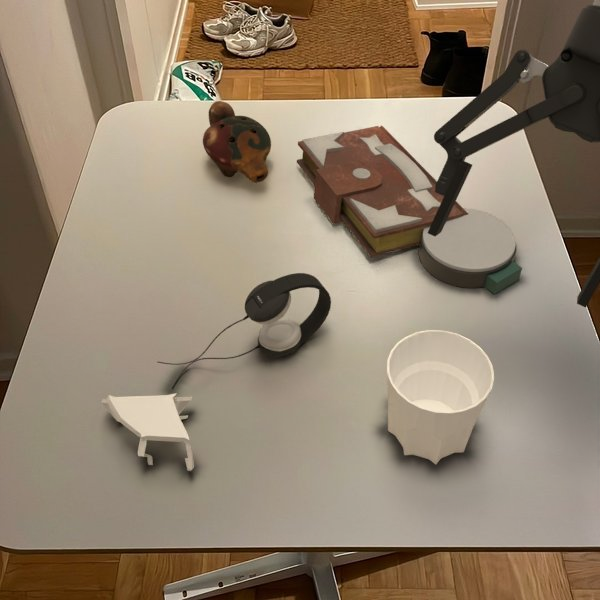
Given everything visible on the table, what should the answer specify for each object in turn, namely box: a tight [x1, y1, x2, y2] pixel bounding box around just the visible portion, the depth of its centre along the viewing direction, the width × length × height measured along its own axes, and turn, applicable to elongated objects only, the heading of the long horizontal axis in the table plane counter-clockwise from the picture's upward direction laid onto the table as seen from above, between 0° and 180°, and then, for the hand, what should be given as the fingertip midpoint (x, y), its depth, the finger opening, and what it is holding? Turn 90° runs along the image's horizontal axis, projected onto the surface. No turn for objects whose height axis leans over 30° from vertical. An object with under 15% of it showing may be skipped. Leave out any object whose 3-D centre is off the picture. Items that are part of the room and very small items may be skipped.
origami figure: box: [101, 392, 195, 472], centre depth 75 cm, size 12×8×5 cm
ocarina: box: [202, 100, 272, 184], centre depth 107 cm, size 10×15×8 cm, turn 34°
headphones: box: [157, 272, 332, 389], centre depth 81 cm, size 10×4×20 cm
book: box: [296, 125, 468, 258], centre depth 102 cm, size 23×16×5 cm
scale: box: [418, 208, 523, 295], centre depth 94 cm, size 13×12×3 cm
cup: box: [386, 329, 495, 465], centre depth 73 cm, size 10×10×10 cm
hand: (505, 267), depth 63 cm, fingers open, 13 cm apart
